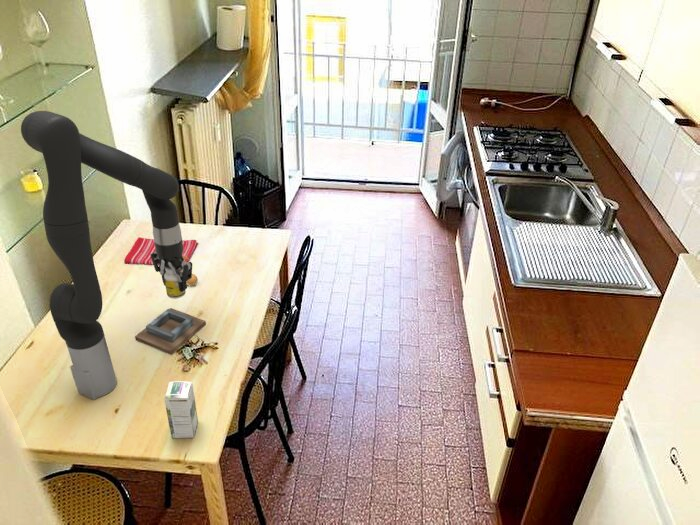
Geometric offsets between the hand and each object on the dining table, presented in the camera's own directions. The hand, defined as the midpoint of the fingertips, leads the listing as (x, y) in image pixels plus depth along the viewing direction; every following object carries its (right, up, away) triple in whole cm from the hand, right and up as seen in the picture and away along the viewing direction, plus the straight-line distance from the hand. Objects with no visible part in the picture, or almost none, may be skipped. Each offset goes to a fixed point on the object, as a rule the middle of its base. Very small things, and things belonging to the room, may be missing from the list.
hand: (175, 287), depth 168 cm
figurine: (-4, 0, +30) cm, 30 cm away
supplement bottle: (0, -2, +1) cm, 3 cm away
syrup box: (+10, -36, -23) cm, 44 cm away
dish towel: (-19, +10, +47) cm, 52 cm away
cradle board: (-4, -14, +8) cm, 17 cm away
